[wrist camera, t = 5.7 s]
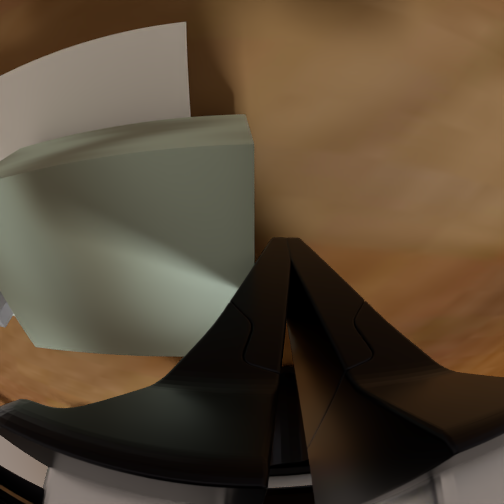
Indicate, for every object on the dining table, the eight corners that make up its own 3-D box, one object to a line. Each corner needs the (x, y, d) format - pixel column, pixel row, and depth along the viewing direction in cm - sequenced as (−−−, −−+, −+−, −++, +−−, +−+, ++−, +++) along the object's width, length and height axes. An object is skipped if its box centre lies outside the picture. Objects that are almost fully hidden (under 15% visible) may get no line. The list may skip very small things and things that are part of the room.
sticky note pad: (244, 111, 10) (253, 144, 6) (247, 269, 14) (254, 354, 10) (29, 143, 9) (-43, 191, 6) (70, 275, 13) (35, 346, 10)
